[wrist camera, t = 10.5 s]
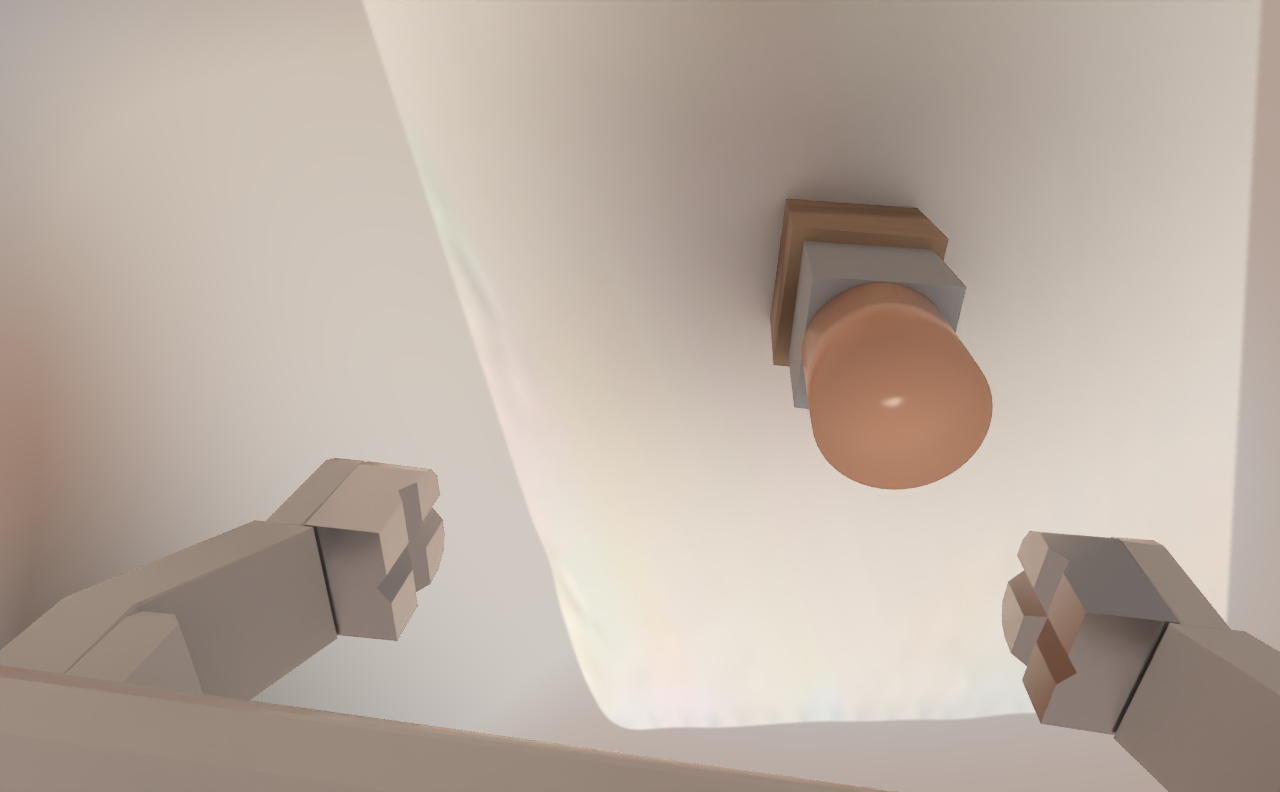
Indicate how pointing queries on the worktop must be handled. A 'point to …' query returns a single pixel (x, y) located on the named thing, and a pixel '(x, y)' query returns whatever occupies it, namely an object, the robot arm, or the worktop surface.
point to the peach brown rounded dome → (892, 388)
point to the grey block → (855, 265)
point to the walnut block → (838, 227)
